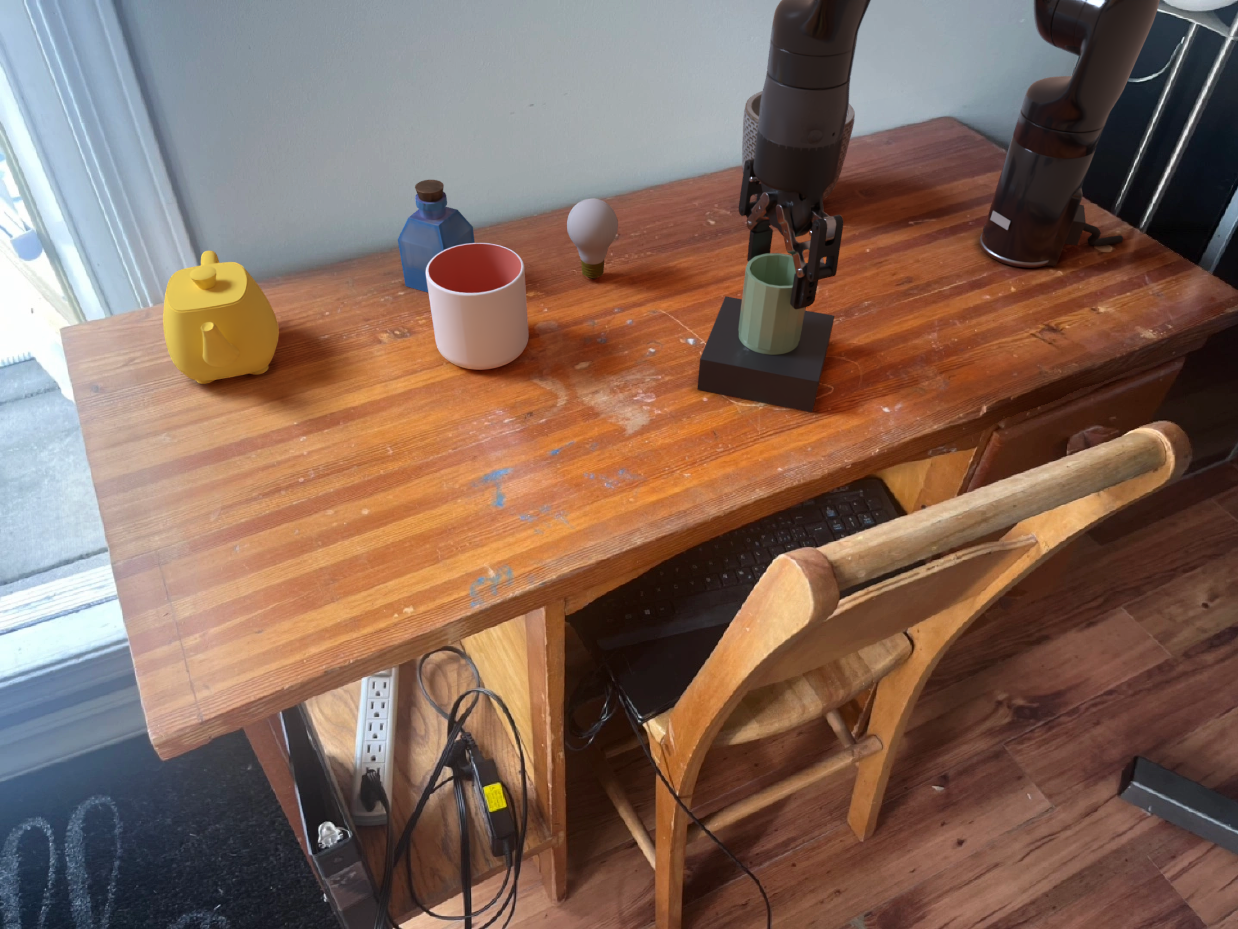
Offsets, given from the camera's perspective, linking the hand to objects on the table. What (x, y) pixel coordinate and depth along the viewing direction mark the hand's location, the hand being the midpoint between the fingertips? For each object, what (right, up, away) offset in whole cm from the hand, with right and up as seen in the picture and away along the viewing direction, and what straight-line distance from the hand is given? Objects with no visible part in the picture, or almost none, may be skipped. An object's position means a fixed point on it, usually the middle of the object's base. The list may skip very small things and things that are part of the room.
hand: (778, 283), depth 94 cm
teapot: (-57, -7, +7) cm, 58 cm away
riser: (0, -8, +7) cm, 10 cm away
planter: (+7, +17, +34) cm, 39 cm away
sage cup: (0, -5, +4) cm, 6 cm away
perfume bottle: (-37, +4, +19) cm, 42 cm away
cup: (-31, -5, +9) cm, 32 cm away
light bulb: (-19, +4, +20) cm, 28 cm away
